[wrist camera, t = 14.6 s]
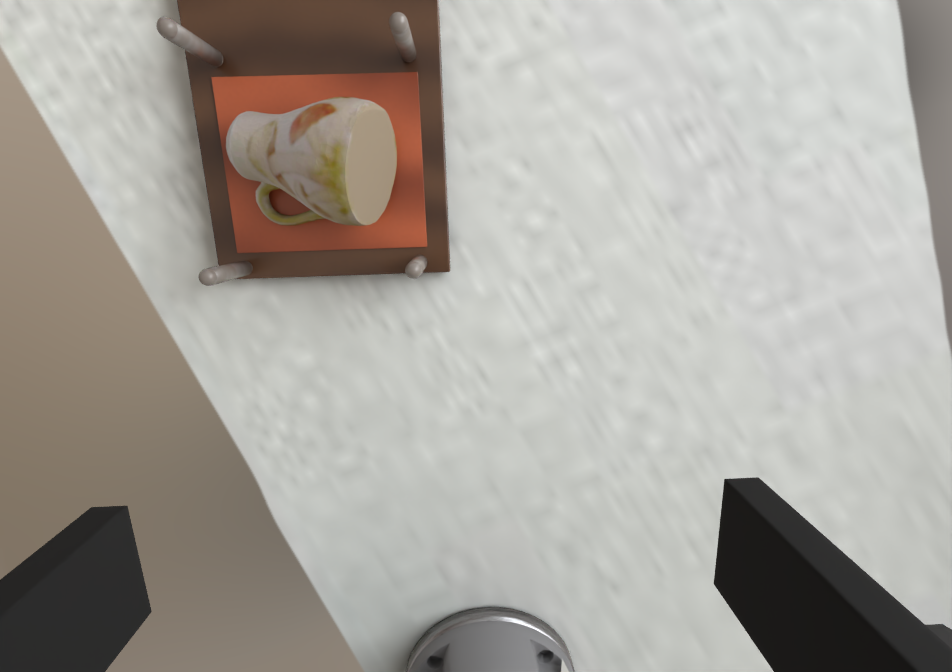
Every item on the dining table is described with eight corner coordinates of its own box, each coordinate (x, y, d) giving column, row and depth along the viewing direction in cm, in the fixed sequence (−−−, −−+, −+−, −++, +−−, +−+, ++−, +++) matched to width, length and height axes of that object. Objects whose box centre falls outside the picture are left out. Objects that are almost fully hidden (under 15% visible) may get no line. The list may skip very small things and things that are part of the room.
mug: (236, 90, 31) (259, 22, 23) (377, 152, 37) (439, 114, 28) (208, 203, 31) (221, 177, 23) (354, 249, 36) (409, 241, 28)
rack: (450, 269, 36) (447, 283, 29) (230, 276, 36) (171, 293, 28) (430, -193, 29) (420, -327, 22) (159, -190, 29) (58, -325, 22)
